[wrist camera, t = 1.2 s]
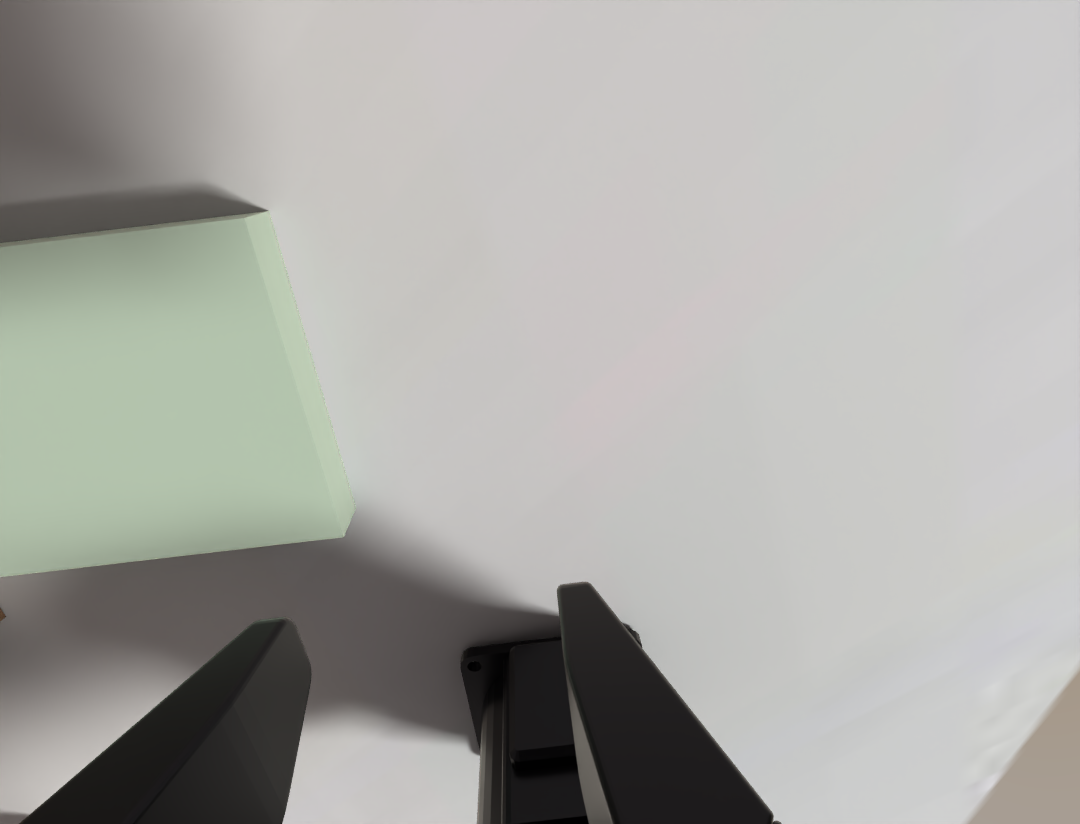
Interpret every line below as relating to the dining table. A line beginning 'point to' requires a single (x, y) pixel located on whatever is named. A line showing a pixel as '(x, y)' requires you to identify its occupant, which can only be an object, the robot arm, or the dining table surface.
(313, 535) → the cover plate
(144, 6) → the dining table surface
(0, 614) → the low shelf
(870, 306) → the dining table surface
